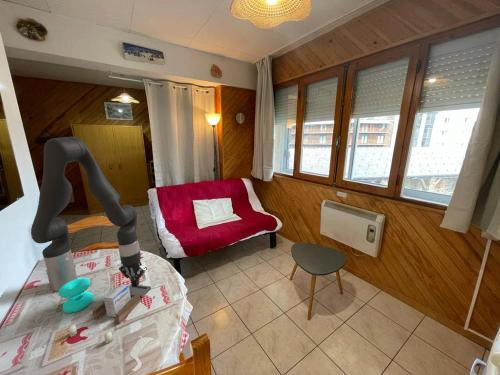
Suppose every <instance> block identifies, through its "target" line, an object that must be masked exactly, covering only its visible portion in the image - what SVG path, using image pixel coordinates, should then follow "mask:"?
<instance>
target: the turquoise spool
mask: <svg viewBox="0 0 500 375" xmlns="http://www.w3.org/2000/svg"><path fill="white" fill-rule="evenodd" d="M90 287H91V280H90V279H89V278H87V277H77V279H74V280H72V281H70V282H68V283H66V284H65V285H63V286H62V287H61V288H60V290H59V291H58V292H57V293H58V294H57V295H58V296H59V297H61V298H62V299H66V300H65V301H64V302H63V305H62V307H61V308H62V311H63V312H65V313H69V314H71V313H72V314H73V313H76V312H80V311H81V310H83V309H85V308H87V307H88V306H89V305H90V304H91V303H92V302H93V300H94V297H95V296H94V294H93V293H92V292H91V291H87V290H88V289H89V288H90Z"/></svg>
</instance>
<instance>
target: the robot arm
mask: <svg viewBox="0 0 500 375" xmlns="http://www.w3.org/2000/svg"><path fill="white" fill-rule="evenodd" d="M43 148H44V149H43V172H42V173H43V174H42V180H41V181H42V182H41V185H40V189H39V191H40V192H39V196H38V204H37V210H36V212H35V213H36V214H35V216H34V219H33V222H32V224H31V229H30V236H31V239H32V240H33V242H35V243H36V244H39V245H40V244H46V243H50V242H51V243H50V244H48V245H47V246H46V247H44V248H43V250H42V253H41V254H42V257H43V260H44V263H45V267H46V275H47V279H48V282H49V285H50V286H49V287H50V288H51V290H52V291H53V292H59V290H60V288H61V287H62V286H63V285H65V284H66V283H68V282H70V281H72V280H74V279H78V274H77V270H76V266H75V263H74V258H73V252H72V250H71V239H70V233H69V232H70V231H69V227H68V224H67V222H66V220H65V219H63V218H62V217H57V216H58V215H59V214H60V213H61V212H62V211H63V210H64V209H66V207H67V206H68V204H70V200H71V197H72V193H73V186H72V184H71V182H70V181H69V179H67V177H66V176H65V172H66V167H67V165H68V164H69V163H74V162H78V164H80V165H81V166H82V168H83V169H84V171H85V175H86V178H87V184H88V188H89V191H90V193H91V194H92V196H93V197H94V198H95V200H97V201H98V203H100V205H101V207H102V208H103V211H104V213H105V215H106V217H107V219H108V221H109V222H110V223H111V225H112V224H113V225H114V226H116V227H119V229H118V230H117V232H116V238H117V242H118V243H117V244H118V253H119V258H120V263H121V266H120V267H119V268H118V270H119V271H120V273H121V274H122V275H123V276H124V277H125V278H126V279H129V280H130V283H131V284H132V287H137V286H138V285H140V279H141V278H142V277H143V275H145V273H146V272H147V270H148V267H146V266H145V267H143V265H142V261H141V260H142V255H141V249H140V248H141V247H140V244H139V239H138V235H137V224H138V223H137V222H138V220H137V219H138V214H137V210H136V209H135V207H134V206H133V205H130V204H124V205H122V206H121V205H120V200H121V195H120V194H119V193H118V191H117V190H116V189H115V188H114V186H113V185H111V183H110V181H109V180H108V179H107V177H106V176H105V174H104V173H103V171H102V169H101V168H100V165H99V164H98V163H97V161H96V159H95V158H94V155H93V154H92V152H91V150H90V148H88V145H87V144H86V143H85V142H84V141H83V140H82V139H81V138H79V137H78V136H77V137H76V136H62V137H54V138H49V139H48V140H46V142H45V144H44V147H43ZM131 284H130V285H131Z"/></svg>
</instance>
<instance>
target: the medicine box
mask: <svg viewBox="0 0 500 375" xmlns="http://www.w3.org/2000/svg"><path fill="white" fill-rule="evenodd" d="M129 286H130V285H129V284H123V283H120V284H118V285H117V286H115V288H113V289H112V290H111V291H110V292H108V293H107V294H106V295H105V296H104V297H103V301H104V303H105V307H106V312H105V313H106V316H107V317H113V318H114V317H115V318H116V313H117V312H118V311H119V310H120V309H121V308H122V307H123V306H124V305H125V304H126V303H127V302H128V301H129V300H130V299H131V298H132V297H131V296H130V290H129Z"/></svg>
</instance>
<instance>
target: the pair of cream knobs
mask: <svg viewBox="0 0 500 375" xmlns="http://www.w3.org/2000/svg"><path fill="white" fill-rule="evenodd" d="M67 331H68V335H69V337H71V338H72V337H75V336H76V335H77V334H78V330H77V326H76V324H72V325H69V326H68V328H67ZM103 336H104V342H105V344H106V345H109V344H111V343H112V342H113V341H114V338H113V334H112V331H110V330H109V331H107V332H105V333H104V334H103Z"/></svg>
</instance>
